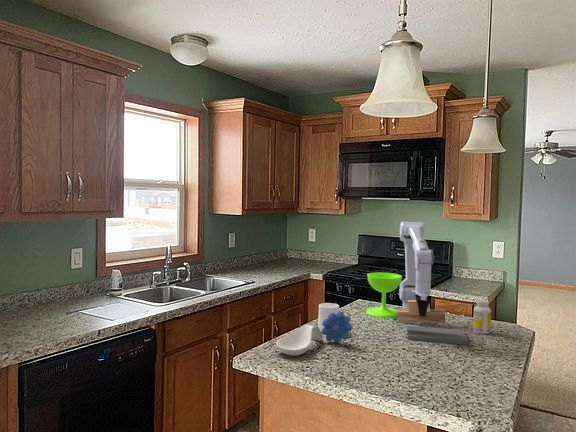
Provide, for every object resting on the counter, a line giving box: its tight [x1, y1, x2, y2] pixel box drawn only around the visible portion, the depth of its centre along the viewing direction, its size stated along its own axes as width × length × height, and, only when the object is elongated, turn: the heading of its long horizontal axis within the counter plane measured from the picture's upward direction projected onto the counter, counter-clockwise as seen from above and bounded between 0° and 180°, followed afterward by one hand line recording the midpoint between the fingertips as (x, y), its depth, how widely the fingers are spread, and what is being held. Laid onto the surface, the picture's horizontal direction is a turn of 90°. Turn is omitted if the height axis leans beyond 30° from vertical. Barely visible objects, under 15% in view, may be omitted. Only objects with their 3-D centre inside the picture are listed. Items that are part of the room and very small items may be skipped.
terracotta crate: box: [408, 300, 419, 312], centre depth 181 cm, size 4×4×4 cm
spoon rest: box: [275, 324, 324, 357], centre depth 163 cm, size 24×12×7 cm, turn 149°
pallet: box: [396, 308, 446, 324], centre depth 181 cm, size 5×18×4 cm, turn 76°
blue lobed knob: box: [321, 310, 353, 344], centre depth 170 cm, size 12×7×12 cm, turn 70°
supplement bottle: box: [472, 299, 492, 335], centre depth 187 cm, size 7×7×13 cm
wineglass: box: [365, 272, 403, 319], centre depth 214 cm, size 16×16×18 cm
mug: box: [317, 302, 340, 333], centre depth 187 cm, size 12×8×10 cm
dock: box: [406, 325, 469, 346], centre depth 180 cm, size 14×22×2 cm, turn 77°
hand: (422, 314), depth 181 cm, fingers closed on pallet, 5 cm apart
